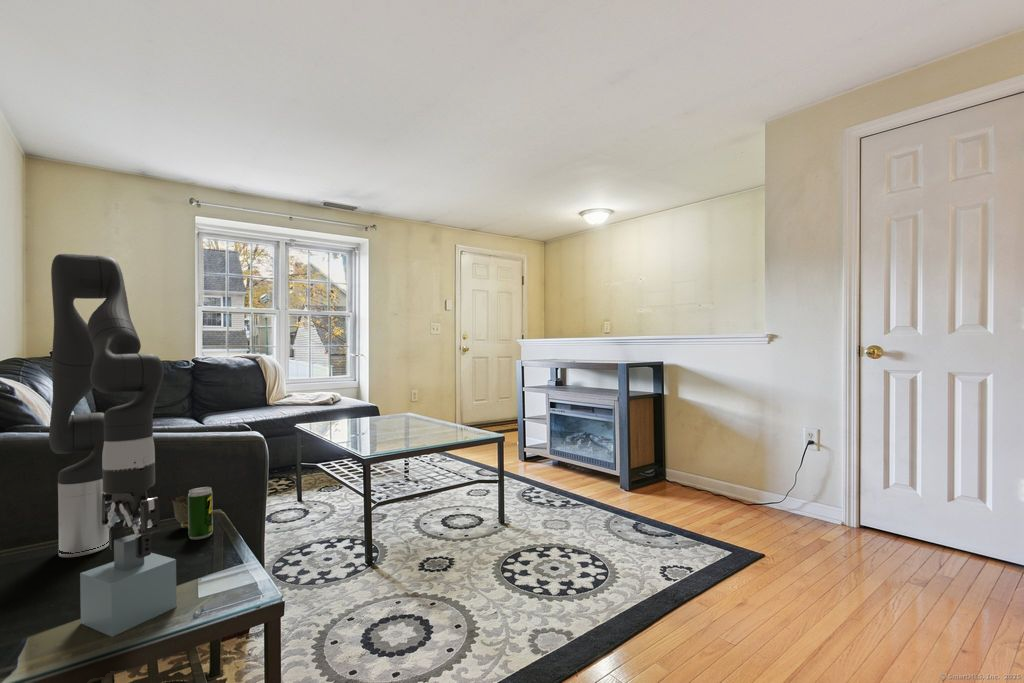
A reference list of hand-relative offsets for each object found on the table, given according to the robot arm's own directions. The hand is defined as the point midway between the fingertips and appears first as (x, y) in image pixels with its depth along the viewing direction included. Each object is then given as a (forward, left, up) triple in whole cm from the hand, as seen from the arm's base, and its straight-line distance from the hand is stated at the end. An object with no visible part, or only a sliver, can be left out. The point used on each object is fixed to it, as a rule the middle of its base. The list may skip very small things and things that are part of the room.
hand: (130, 552), depth 88 cm
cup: (-37, +32, -11) cm, 50 cm away
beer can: (-27, +29, -11) cm, 41 cm away
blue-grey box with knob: (0, 0, -11) cm, 11 cm away
